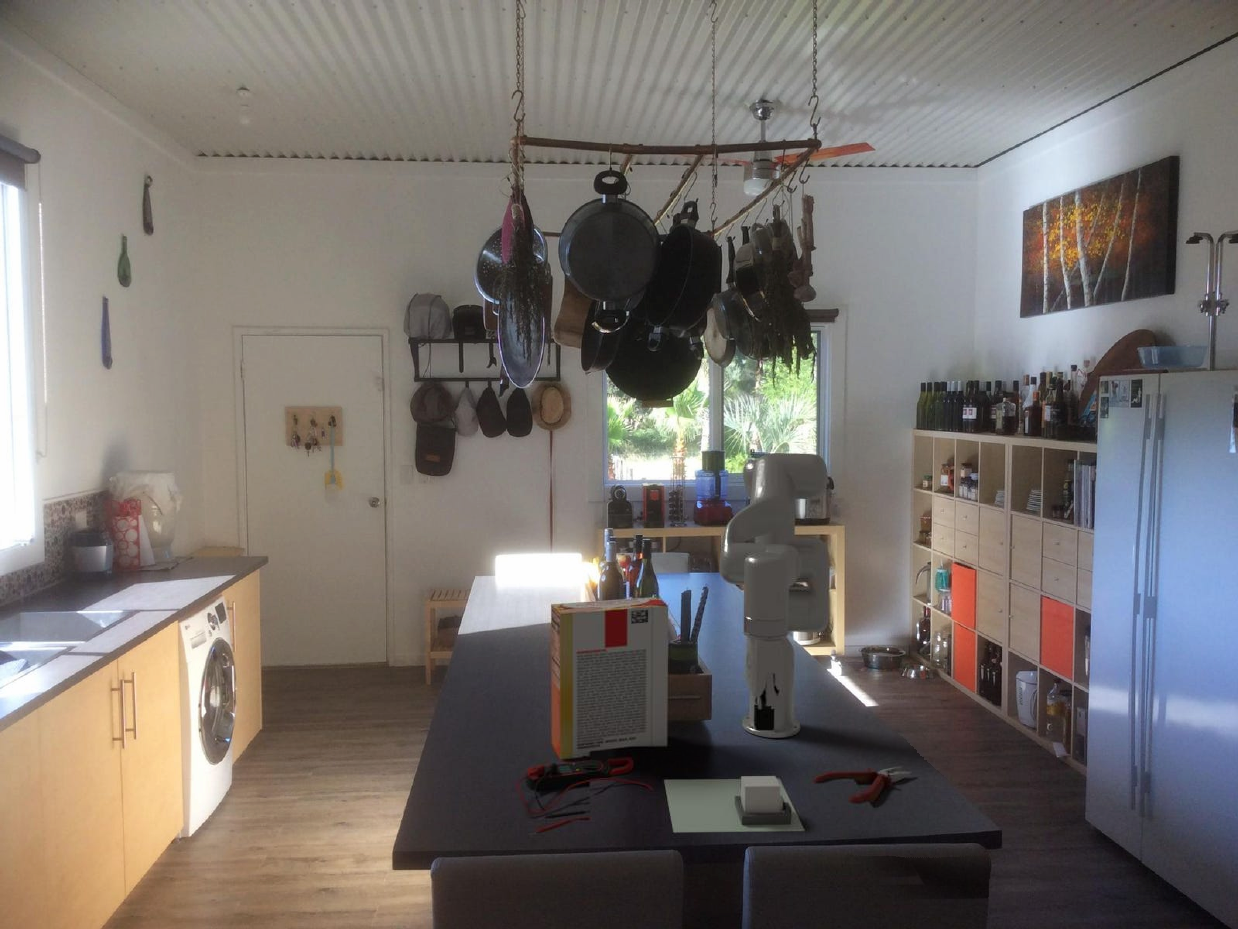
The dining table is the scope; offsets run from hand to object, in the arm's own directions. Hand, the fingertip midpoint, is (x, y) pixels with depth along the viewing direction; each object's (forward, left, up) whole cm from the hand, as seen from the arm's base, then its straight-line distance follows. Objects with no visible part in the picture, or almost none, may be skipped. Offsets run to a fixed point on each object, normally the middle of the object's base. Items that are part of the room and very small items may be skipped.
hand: (763, 728), depth 154 cm
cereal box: (-32, -26, -16) cm, 45 cm away
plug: (+1, -1, -15) cm, 15 cm away
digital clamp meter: (-9, -31, -17) cm, 37 cm away
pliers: (-11, +23, -17) cm, 30 cm away
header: (+1, 0, -15) cm, 15 cm away
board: (-3, -5, -16) cm, 17 cm away
